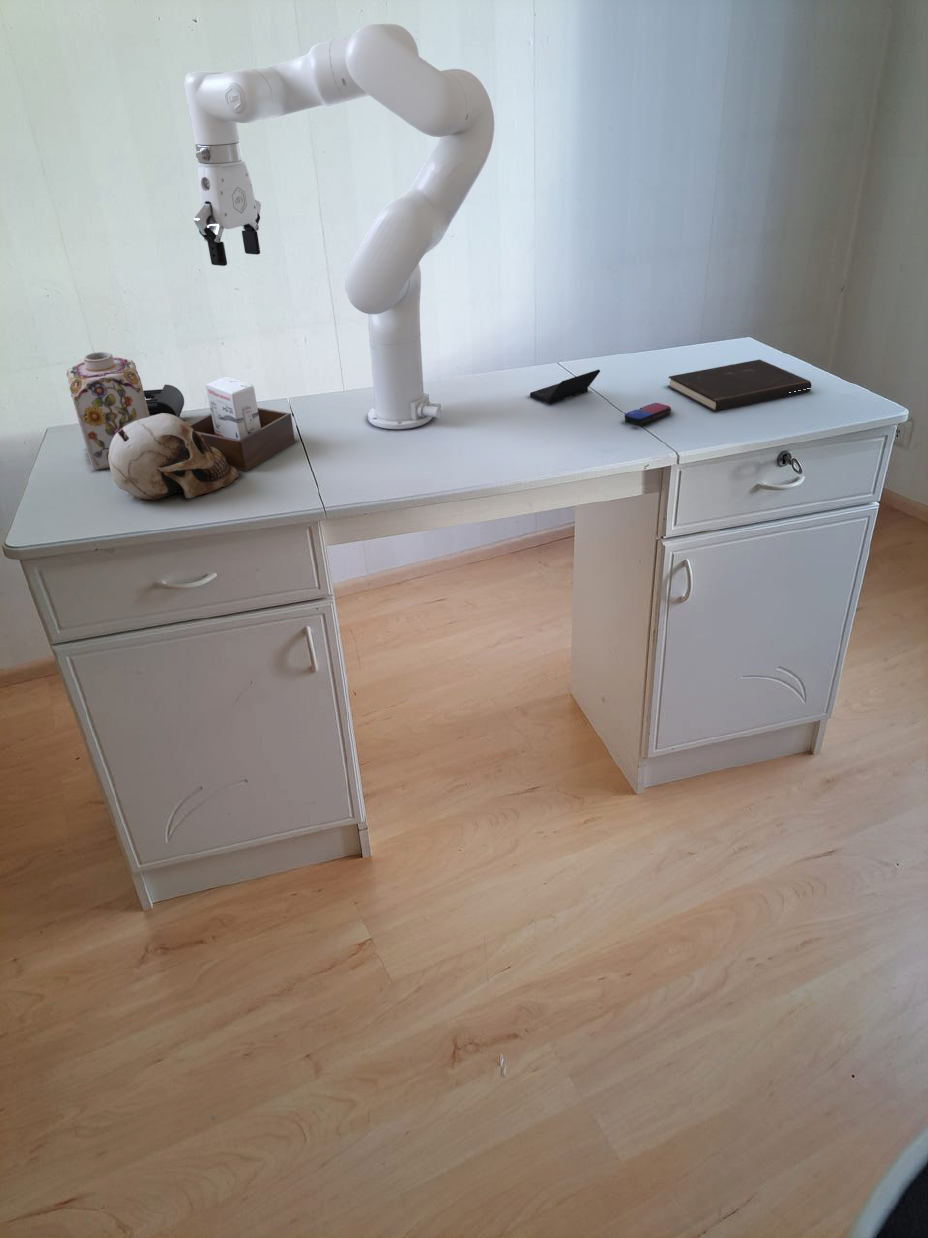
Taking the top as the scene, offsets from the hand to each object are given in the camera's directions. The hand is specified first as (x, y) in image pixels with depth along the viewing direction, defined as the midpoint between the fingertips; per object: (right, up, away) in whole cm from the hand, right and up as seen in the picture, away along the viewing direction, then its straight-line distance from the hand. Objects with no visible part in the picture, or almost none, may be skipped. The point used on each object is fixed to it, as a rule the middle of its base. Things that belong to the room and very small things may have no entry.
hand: (236, 259), depth 160 cm
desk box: (+1, -36, -2) cm, 36 cm away
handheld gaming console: (+62, -22, +16) cm, 68 cm away
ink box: (+1, -35, -2) cm, 36 cm away
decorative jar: (-20, -37, -2) cm, 42 cm away
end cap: (-16, -29, +8) cm, 34 cm away
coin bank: (-6, -44, -14) cm, 47 cm away
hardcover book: (+98, -20, +16) cm, 101 cm away
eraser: (+77, -29, +5) cm, 83 cm away
